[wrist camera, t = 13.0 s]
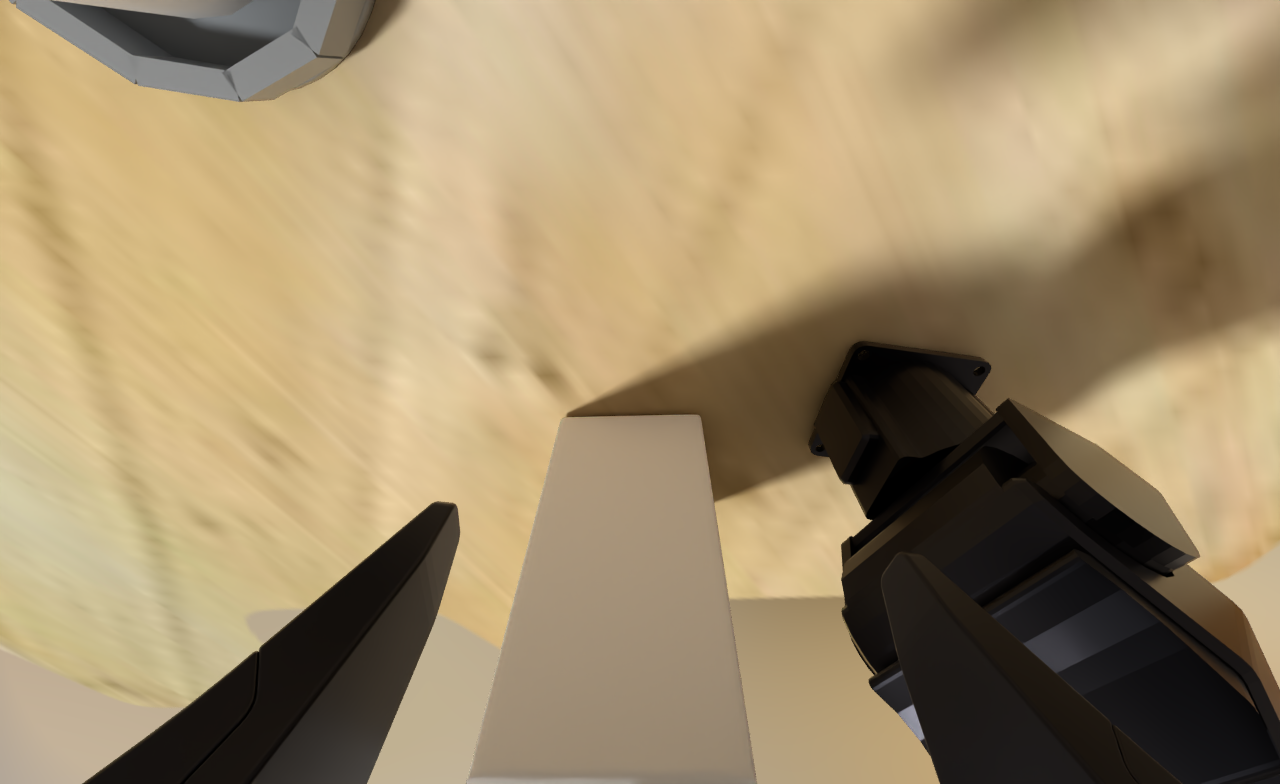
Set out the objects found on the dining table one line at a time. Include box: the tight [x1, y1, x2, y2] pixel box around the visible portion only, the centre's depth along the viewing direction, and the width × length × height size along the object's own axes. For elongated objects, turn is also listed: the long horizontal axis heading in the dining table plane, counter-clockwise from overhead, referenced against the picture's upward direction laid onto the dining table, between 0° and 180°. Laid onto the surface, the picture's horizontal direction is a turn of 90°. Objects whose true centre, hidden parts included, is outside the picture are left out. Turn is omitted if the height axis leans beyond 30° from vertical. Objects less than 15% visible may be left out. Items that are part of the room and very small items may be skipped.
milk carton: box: [466, 415, 757, 784], centre depth 18 cm, size 7×7×19 cm
